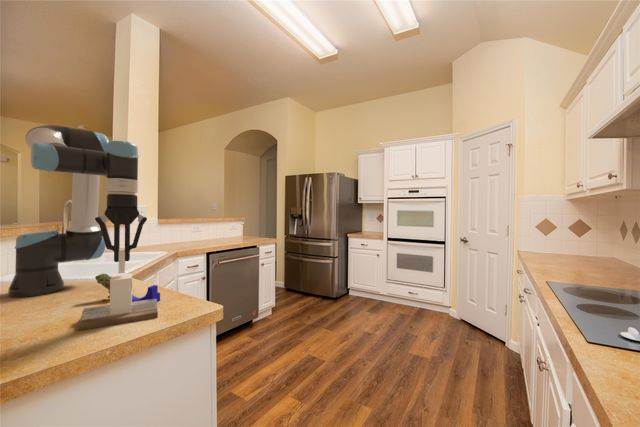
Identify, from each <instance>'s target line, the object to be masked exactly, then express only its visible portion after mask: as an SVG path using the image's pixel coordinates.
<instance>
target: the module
mask: <svg viewBox="0 0 640 427" xmlns="http://www.w3.org/2000/svg"><path fill="white" fill-rule="evenodd" d="M111 276H112V277H111ZM111 276H110V277H111V279H110V294H109V295H110V297H109V305H110V315H116V314H123V313H129V312H131V303H132V295H133V273H118V274H112V275H111Z"/></svg>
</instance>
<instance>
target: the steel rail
mask: <svg viewBox="0 0 640 427" xmlns="http://www.w3.org/2000/svg"><path fill="white" fill-rule="evenodd" d="M156 309H157V310H158V302H157V299H149V300H142V301H135V302H132V303H131V312H129V313H123V314H116V315H110V304H106V305H100V306H92V307H85V308H83V310H82V311H81V318H80V320H79V322H80V321H86V320H92V319H99V318H105V317H111V316H118V315H124V314H131V313H137V312H143V311H150V310H156Z"/></svg>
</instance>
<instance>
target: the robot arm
mask: <svg viewBox="0 0 640 427" xmlns="http://www.w3.org/2000/svg"><path fill="white" fill-rule="evenodd" d="M25 141H26V144H27V146H28V147H29V148H30V164H31V167H32V168H33V169H34V170H40V171H45V172H50V173H51V172H55V173H56V172H58V173H59V172H60V173H69V174H70V173H71V174H72V187H71V188H72V189H71V216H70V217H71V219H70V224H69V225H68V226H67V227H66V228H65V233H60V231H59V230H57V229H55V230H54V229H53V230H52V229H51V230H43V231H42V230H41V231H34V232H28V233H21V234H20V235H18V236H17V237H16V239H15V246H14V249H15V274H14V276H13V279H12V281H11V283H10V285H9V287H8V291H7V293H8V294H7V296H8V297H11V298H25V297H26V298H28V297H34V296H35V297H36V296H42V295H47V294H52V293H55V292H59V291H62V290H64V288H65V282H64V280H63V278H62V275H61V273H60V271H59V263H65V262H66V263H68V262H78V261H89V260H95V259H99V258H100V257H102V256H103V254H104V253H105V251H106V250H110V251H113V261H114V263H118V274H126V262H130V258H131V256H130V253H131V252H130V251H131V250H133V249H136V248H137V247H138V243H139V240H140V236H141V233H142V231H143V230H142V229H143V227H144V224H146V222H147V220H148V218H147V217H146V216H143V215H142V214H140V211H139V209H138V196H137V193H138V189H139V186H138V185H139V183H138V180H139V179H138V174H139V173H138V171H139V165H138V164H139V152H138V151H139V150H138V146H137V145H136V144H135V143H133V142H130V141H124V140H109V138H108V137H107V136H106V135H105V134H104V133H101V132H97V131H93V130H85V129H80V128H74V127H70V126H69V127H68V126H63V125H56V124H45V125H39V126H35V127H33V128H31V129H30V130H28V131H27V133H26V135H25ZM101 176H103V177H105V178H106V191H107V193H108V194H106V208H105V210H104V213H103V214H102V215H99V205H100V204H99V201H100V183H101V182H100V180H101ZM107 219H108V220H109V221H110V223H111V224H113V225H114V226H113V228H114V229H113V244H112V241H111V238H110V235H109V231H108V227H107V224H106V222H107ZM135 220H137V222H138V225H137V228H136V231H135V234H134V238H133V241H132V244H131V224H132V223H134V221H135ZM121 225H122V226H123V225H124V249H121V250H120V248H121V247H120V246H121V244H120V241H121V240H120V238H121V237H120V235H121V232H120V230H121Z"/></svg>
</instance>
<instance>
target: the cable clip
mask: <svg viewBox="0 0 640 427" xmlns="http://www.w3.org/2000/svg"><path fill="white" fill-rule="evenodd" d="M158 291H159V289H158V284H157V285H156V284H152V285H151V286H148V287H147V292H146V294H145V295H144V296H142V297H137V296H135V295H133V294H132V302H135V301H142V300H149V299H157V303H158V302H160V301H161V292H158Z"/></svg>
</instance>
